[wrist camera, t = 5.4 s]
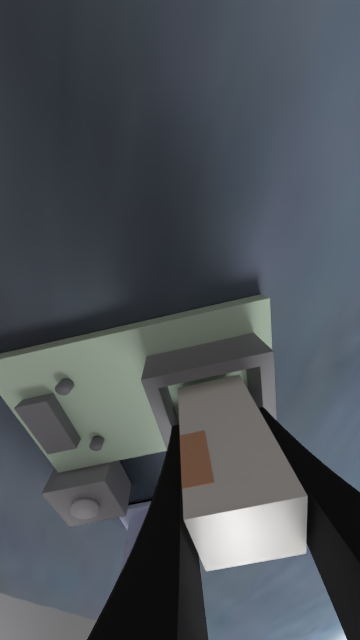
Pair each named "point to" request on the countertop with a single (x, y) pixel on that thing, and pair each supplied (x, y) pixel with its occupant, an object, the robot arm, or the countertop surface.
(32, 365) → the board
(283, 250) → the countertop surface
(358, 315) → the countertop surface
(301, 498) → the plug
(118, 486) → the button housing
